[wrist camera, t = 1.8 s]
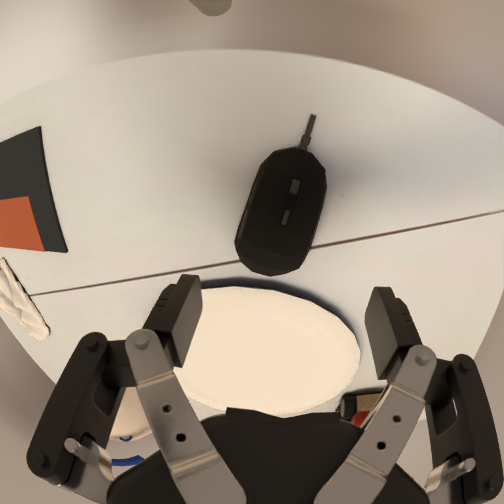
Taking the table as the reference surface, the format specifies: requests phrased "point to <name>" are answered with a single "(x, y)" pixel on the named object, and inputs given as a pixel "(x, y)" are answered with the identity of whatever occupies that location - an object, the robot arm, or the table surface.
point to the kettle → (130, 424)
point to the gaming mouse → (282, 211)
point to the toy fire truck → (357, 408)
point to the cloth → (20, 304)
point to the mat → (27, 196)
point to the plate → (267, 352)
